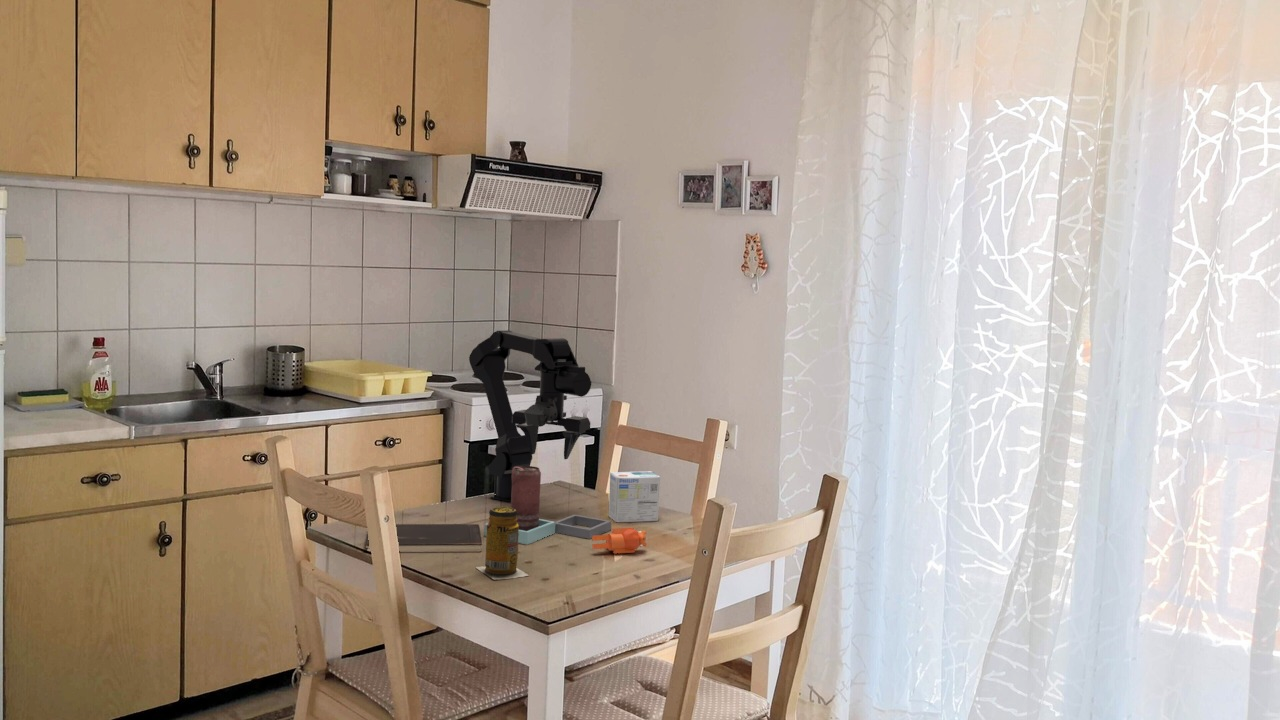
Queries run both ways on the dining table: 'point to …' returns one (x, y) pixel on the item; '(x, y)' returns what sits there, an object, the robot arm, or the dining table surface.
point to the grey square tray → (566, 527)
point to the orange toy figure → (621, 540)
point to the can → (526, 496)
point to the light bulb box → (634, 496)
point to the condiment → (502, 545)
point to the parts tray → (533, 532)
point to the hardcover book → (438, 538)
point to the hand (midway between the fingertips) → (549, 456)
